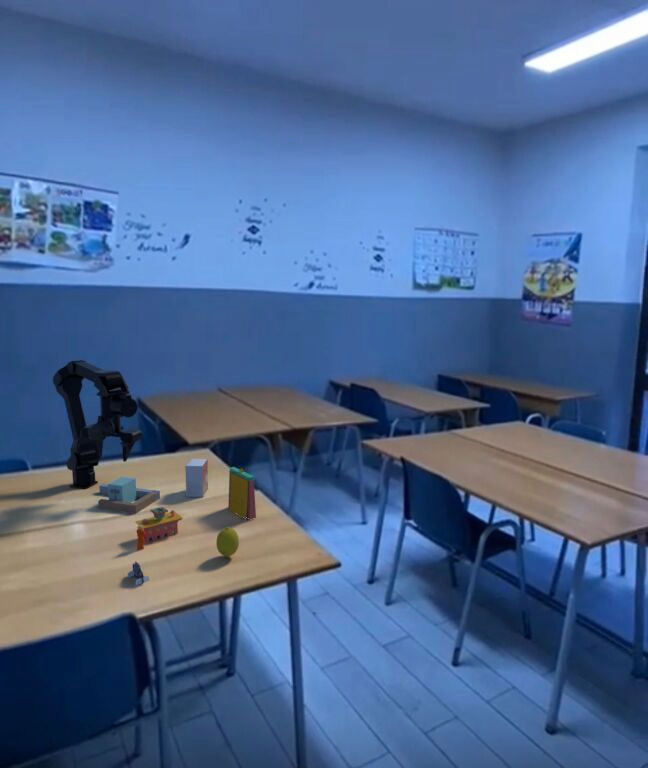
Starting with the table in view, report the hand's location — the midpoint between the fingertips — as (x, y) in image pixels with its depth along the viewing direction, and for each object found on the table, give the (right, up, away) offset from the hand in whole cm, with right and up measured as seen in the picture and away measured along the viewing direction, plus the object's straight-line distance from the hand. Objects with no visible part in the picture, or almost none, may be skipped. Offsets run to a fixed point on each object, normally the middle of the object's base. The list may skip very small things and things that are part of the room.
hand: (112, 459), depth 180 cm
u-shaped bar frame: (+3, -13, -2) cm, 13 cm away
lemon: (+43, -20, -37) cm, 60 cm away
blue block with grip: (+4, -13, -2) cm, 14 cm away
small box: (+25, -12, +7) cm, 29 cm away
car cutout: (+26, -23, -51) cm, 62 cm away
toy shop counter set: (+30, -17, -19) cm, 39 cm away
